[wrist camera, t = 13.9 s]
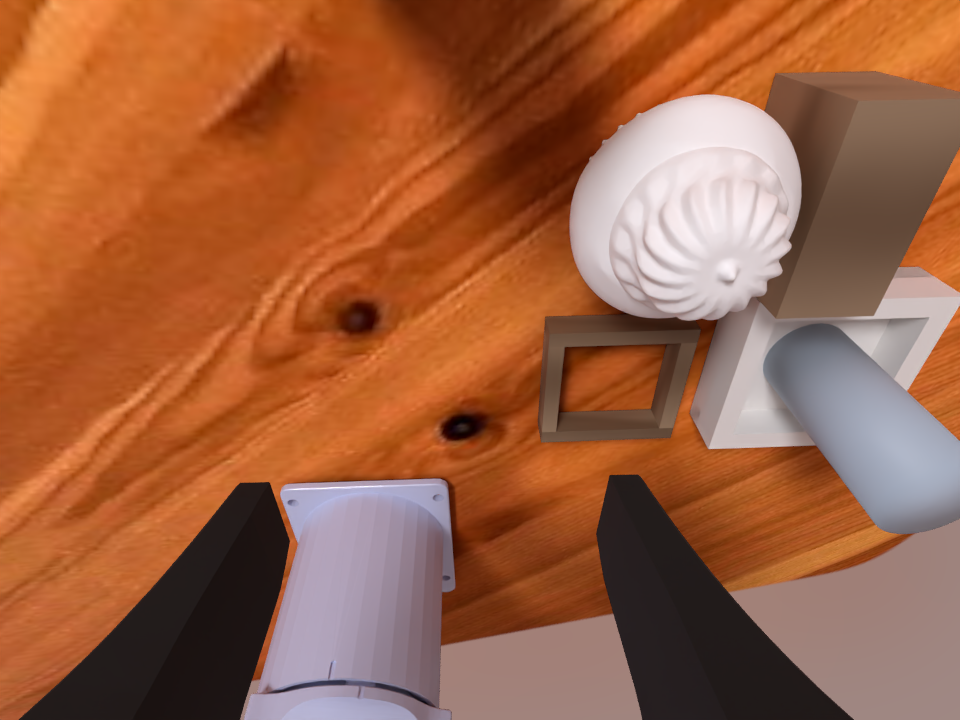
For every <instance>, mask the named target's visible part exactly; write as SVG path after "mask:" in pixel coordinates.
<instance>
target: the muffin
mask: <svg viewBox="0 0 960 720" xmlns="http://www.w3.org/2000/svg"><path fill="white" fill-rule="evenodd" d="M801 186H802V183H801V173H800V167H799V163H798V159H797V156H796V153H795V150H794V147H793V145H792V143H791V141H790V139H789V137H788V136H787V134H786V132H785V131H784V130H783V129H782V127H781V126H780V125H779V124H778V123H777V122H776V121H775V120H774V119H773V118H772V117H771V116H769V115H768V114H767V113H766V112H764V111H763V110H761V109H760V108H758V107H756V106H754V105H752V104H750V103H747V102H745V101H742V100H739V99H736V98H732V97H727V96H721V95H694V96H689V97H683V98H679V99H675V100H672V101H669V102H666V103H663V104H661V105H657V106H656V107H654V108H652V109H650V110H648V111H646V112H644V113H638V114H637V115H636V117H635V118H634V119H632V120H631V121H630V122H628V123H627V124H626V125H619V126H618V129H617V132H616V133H615V134H614V135H612V136H611V137H610V138H609V139H606V140H603V141H602V146H601V147H600V149H599V150H598V151H597V152H596V153H595V154H594V156H592V157H590V158H589V163H588V164H587V166H586V167H585V169H584V170H583V172H582V174H581V176H580V178H579V180H578V183H577V185H576V188H575V191H574V195H573V199H572V203H571V210H570V242H571V248H572V252H573V257H574V260H575V263H576V265H577V268H578V270H579V272H580V274H581V276H582V277H583V279H584V281H585V282H586V283H587V285H588V286H589V287H590V288H591V289H592V291H593V292H594V293H595V294H596V295H598V296H599V297H600V298H601V299H602V300H604V301H605V302H606V303H608V304H609V305H611V306H613V307H615V308H616V309H618V310H620V311H623V312H625V313H628V314H631V315H634V316H638V317H645V318H672V317H677V318H679V319H681V320H687V321H692V320H698V319H701V318H702V319H706V320H716V319H719V318H722V317H723V316H725V315H726V314H727V313H728V312H729V311H731V312H738V311H741V310H744V309H745V308H746V307H747V305H748V303H749V300H750V298H751V297H758V296H763V295H765V294H766V291H767V281H768V280H769V279H772V278H774V277H777V276H779V275H781V274H782V271H783V270H782V267H781V265H780V263H779V259H780V258H782V257H783V256H784V255H785V254H786V253H788V252H789V251H790V249H791V246H792V245H791V243H790V242H789V239H790V237H791V235H792V232H793V230H794V228H795V225H796V222H797V219H798V215H799V210H800V205H801Z"/></svg>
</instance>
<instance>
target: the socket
mask: <svg viewBox="0 0 960 720" xmlns="http://www.w3.org/2000/svg"><path fill="white" fill-rule="evenodd" d="M700 332H701V329H700V327H699V326H698V324H697V323H696V321H695V320H692V321H687V320H681V319H679V318H677V317H672V318H645V317H638V316H634V315H631V314H621V315H587V316H553V317H545V329H544V343H543V357H542V371H541V385H540V399H539V413H538V427H539V433H540V438H541V442H565V441H594V440H624V439H653V438H670V437H671V434H672V430H673V427H674V423H675V420H676V416H677V413H678V409H679V406H680V402H681V399H682V395H683V392H684V388H685V385H686V381H687V377H688V374H689V370H690V367H691V363H692V360H693V356H694V353H695V349H696V346H697V342H698V339H699V335H700ZM645 344H667V345H666V349H665V353H664V357H663V361H662V366H661V370H660V374H659V378H658V382H657V386H656V390H655V395H654V399H653V403H652V407H651V409H647V410H617V411H586V412H558V408H559V398H560V389H561V379H562V369H563V359H564V349H565V347H579V346H612V345H645Z"/></svg>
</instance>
